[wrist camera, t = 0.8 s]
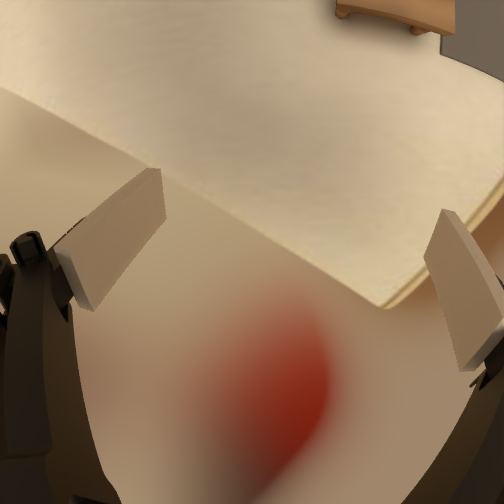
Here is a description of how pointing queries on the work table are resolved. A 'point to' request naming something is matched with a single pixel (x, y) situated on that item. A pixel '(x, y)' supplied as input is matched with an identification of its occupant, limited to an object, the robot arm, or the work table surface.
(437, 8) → the wooden stool
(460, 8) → the mat
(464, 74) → the work table surface
